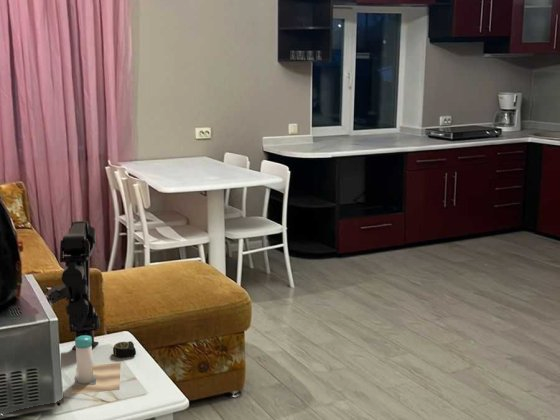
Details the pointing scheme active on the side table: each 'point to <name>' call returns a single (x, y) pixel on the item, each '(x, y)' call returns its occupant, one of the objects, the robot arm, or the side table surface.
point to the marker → (84, 359)
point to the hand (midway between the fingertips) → (79, 325)
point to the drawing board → (100, 379)
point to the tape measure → (124, 349)
